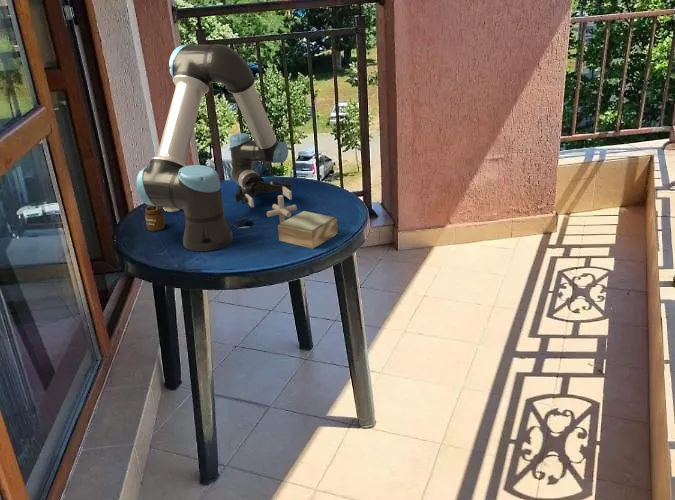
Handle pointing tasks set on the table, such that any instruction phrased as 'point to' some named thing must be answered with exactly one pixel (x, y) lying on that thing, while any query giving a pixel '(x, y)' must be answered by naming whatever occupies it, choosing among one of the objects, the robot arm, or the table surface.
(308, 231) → the lidded wooden box
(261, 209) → the table surface
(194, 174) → the robot arm
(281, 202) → the pipe connector
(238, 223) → the table surface
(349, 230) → the table surface
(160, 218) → the utensil holder
